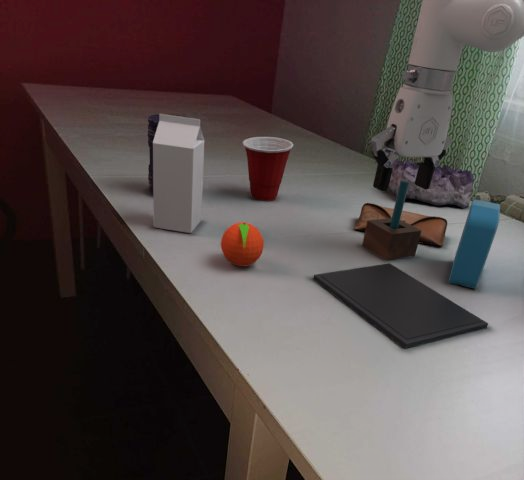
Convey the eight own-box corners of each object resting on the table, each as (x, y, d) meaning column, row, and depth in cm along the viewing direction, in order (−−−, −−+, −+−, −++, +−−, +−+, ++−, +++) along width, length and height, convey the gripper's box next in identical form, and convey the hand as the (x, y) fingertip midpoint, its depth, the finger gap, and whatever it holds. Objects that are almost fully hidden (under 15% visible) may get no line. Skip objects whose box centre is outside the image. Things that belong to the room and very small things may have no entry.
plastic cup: (228, 193, 121) (232, 137, 114) (263, 187, 127) (269, 134, 121) (261, 207, 114) (267, 149, 108) (296, 200, 121) (304, 145, 115)
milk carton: (191, 234, 98) (194, 122, 87) (153, 228, 98) (152, 117, 88) (201, 221, 104) (205, 116, 93) (165, 216, 104) (166, 110, 94)
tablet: (388, 267, 94) (389, 262, 93) (487, 328, 78) (489, 322, 78) (313, 279, 87) (313, 273, 86) (404, 348, 71) (406, 343, 70)
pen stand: (390, 242, 104) (396, 217, 102) (414, 256, 100) (421, 230, 97) (361, 245, 101) (367, 220, 99) (385, 260, 96) (392, 234, 94)
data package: (453, 261, 99) (473, 196, 93) (478, 266, 98) (500, 202, 92) (447, 285, 90) (469, 215, 83) (475, 292, 89) (499, 221, 82)
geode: (464, 198, 137) (479, 160, 130) (469, 218, 128) (485, 178, 122) (385, 183, 138) (395, 145, 132) (384, 202, 130) (396, 162, 123)
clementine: (263, 277, 85) (268, 234, 81) (219, 274, 84) (222, 231, 81) (260, 257, 92) (264, 216, 88) (219, 254, 91) (221, 213, 87)
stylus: (388, 249, 101) (405, 179, 94) (393, 252, 100) (411, 182, 93) (382, 250, 101) (398, 180, 94) (387, 253, 100) (404, 182, 93)
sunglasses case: (353, 228, 107) (361, 195, 107) (354, 236, 114) (362, 205, 114) (444, 246, 104) (453, 213, 103) (440, 253, 111) (448, 221, 110)
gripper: (403, 81, 78) (376, 197, 88) (483, 87, 86) (451, 192, 96) (371, 73, 84) (349, 183, 93) (449, 79, 92) (422, 180, 101)
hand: (401, 188), depth 94 cm, fingers open, 9 cm apart
